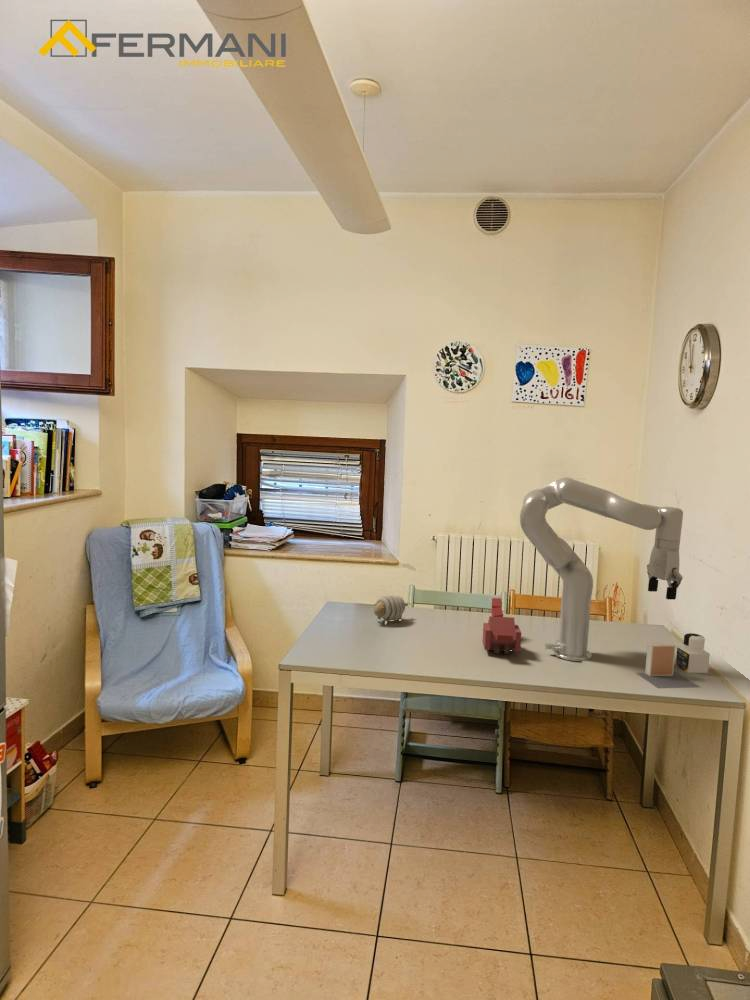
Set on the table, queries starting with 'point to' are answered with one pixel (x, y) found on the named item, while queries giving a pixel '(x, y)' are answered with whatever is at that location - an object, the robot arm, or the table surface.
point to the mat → (669, 681)
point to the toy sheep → (390, 607)
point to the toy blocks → (501, 631)
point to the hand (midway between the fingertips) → (661, 595)
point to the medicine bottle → (693, 654)
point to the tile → (660, 659)
